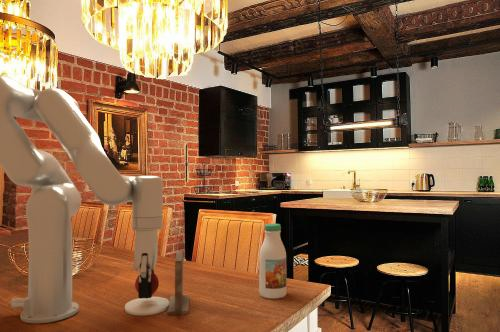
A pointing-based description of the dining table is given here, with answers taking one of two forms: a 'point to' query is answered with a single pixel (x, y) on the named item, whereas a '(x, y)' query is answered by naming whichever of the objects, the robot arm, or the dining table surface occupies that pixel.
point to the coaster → (147, 306)
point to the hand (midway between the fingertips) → (146, 293)
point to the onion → (153, 279)
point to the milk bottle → (272, 264)
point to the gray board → (179, 290)
